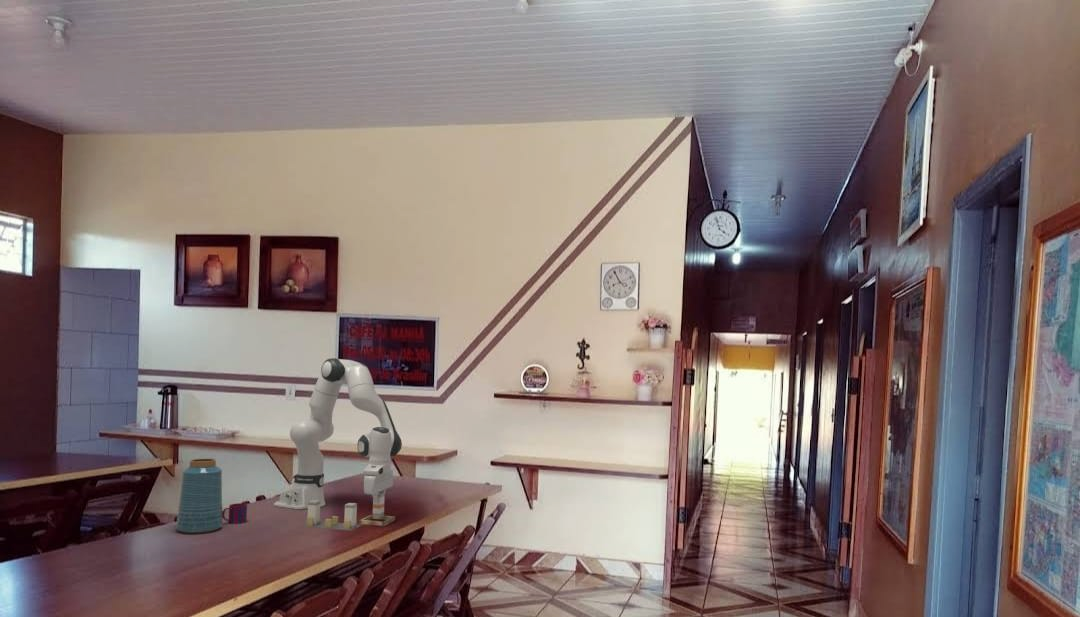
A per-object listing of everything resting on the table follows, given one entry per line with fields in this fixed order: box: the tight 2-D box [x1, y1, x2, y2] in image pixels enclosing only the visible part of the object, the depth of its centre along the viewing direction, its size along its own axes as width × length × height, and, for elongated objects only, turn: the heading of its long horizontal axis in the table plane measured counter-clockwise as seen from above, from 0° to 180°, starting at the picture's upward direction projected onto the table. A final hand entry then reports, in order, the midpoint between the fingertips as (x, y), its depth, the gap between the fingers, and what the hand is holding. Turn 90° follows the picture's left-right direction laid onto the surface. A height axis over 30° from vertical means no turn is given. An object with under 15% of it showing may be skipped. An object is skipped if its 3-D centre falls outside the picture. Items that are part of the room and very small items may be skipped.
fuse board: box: [299, 515, 363, 532], centre depth 288 cm, size 22×10×4 cm, turn 77°
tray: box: [358, 514, 397, 527], centre depth 297 cm, size 11×11×2 cm
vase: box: [175, 457, 223, 535], centre depth 283 cm, size 16×16×27 cm
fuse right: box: [343, 502, 358, 528], centre depth 287 cm, size 3×3×9 cm
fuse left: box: [307, 500, 321, 525], centre depth 290 cm, size 3×3×9 cm
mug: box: [222, 502, 248, 525], centre depth 295 cm, size 7×10×7 cm
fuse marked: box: [372, 492, 386, 517], centre depth 297 cm, size 3×3×9 cm
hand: (378, 501), depth 297 cm, fingers closed on fuse marked, 3 cm apart
